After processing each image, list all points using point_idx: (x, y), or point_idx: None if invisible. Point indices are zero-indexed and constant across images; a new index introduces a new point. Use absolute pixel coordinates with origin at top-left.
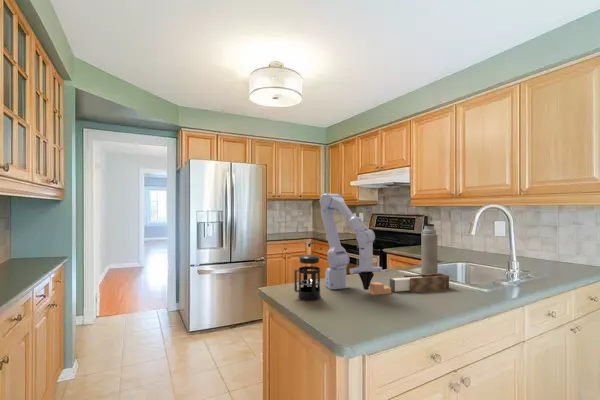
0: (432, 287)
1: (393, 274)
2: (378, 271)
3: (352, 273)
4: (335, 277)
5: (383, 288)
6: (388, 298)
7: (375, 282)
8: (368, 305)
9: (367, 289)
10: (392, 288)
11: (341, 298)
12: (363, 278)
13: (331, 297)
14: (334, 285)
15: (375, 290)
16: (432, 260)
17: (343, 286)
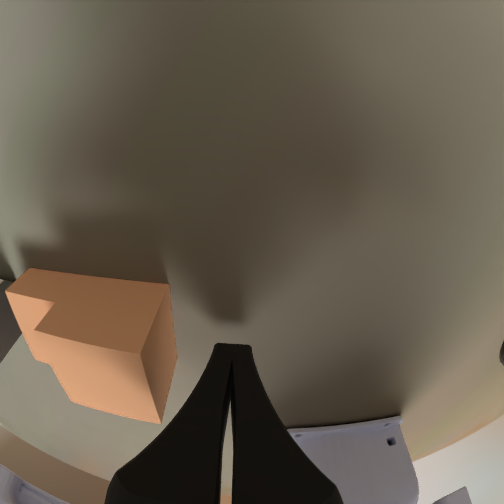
0: None
1: (27, 437)
2: (31, 487)
3: (455, 493)
4: (382, 480)
5: (57, 304)
6: (86, 138)
7: (103, 405)
8: (410, 21)
9: (227, 344)
10: (4, 303)
11: (479, 270)
12: (306, 461)
13: (497, 302)
14: (377, 439)
15: (144, 307)
16: None
17: (324, 438)
